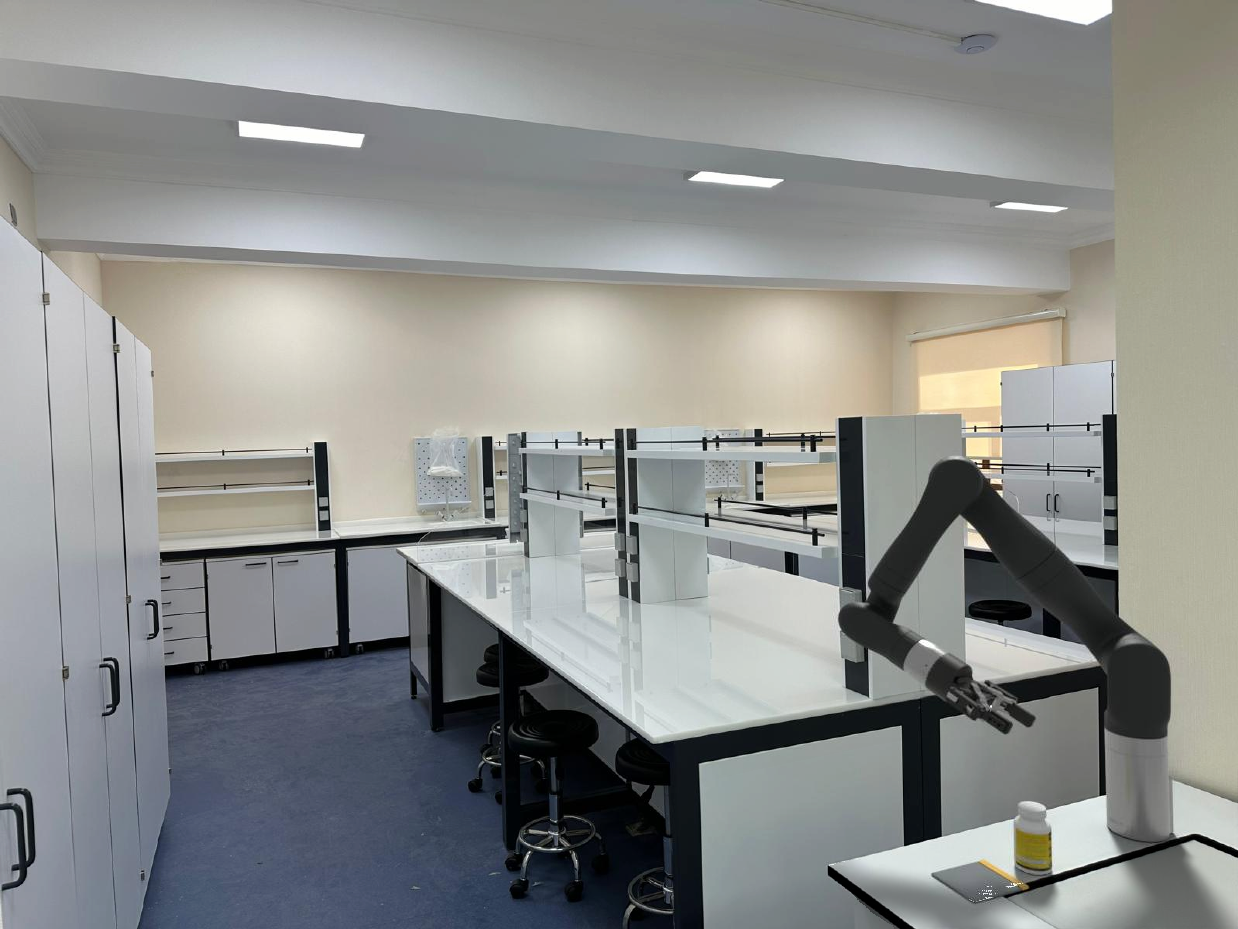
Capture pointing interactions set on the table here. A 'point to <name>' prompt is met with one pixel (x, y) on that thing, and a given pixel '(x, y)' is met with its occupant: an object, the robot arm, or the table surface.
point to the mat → (979, 880)
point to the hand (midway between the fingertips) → (1021, 726)
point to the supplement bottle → (1032, 839)
